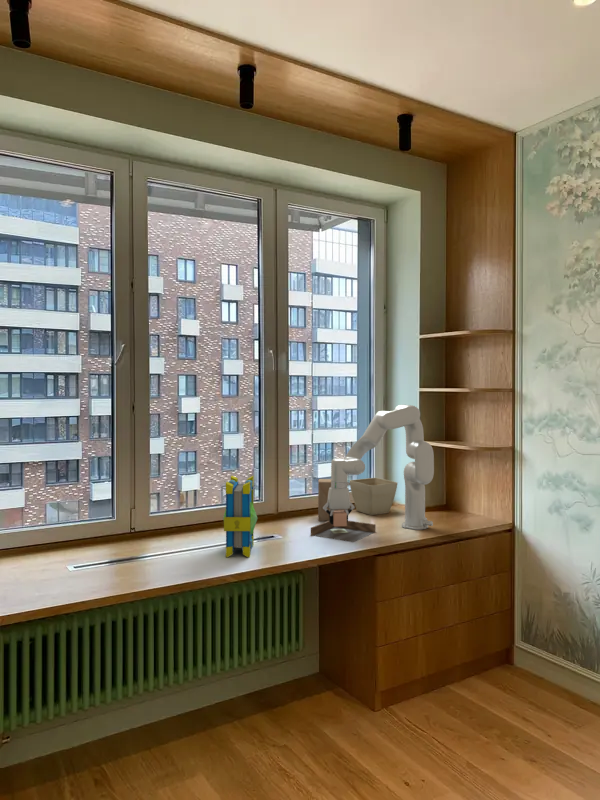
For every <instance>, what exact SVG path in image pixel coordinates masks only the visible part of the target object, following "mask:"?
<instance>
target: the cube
mask: <svg viewBox="0 0 600 800" xmlns="http://www.w3.org/2000/svg"><path fill="white" fill-rule="evenodd" d="M332 525H333V526H334V527H337V526H347V513H346V512H344V510H338V511H334V512H333V524H332Z"/></svg>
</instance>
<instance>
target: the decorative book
mask: <svg viewBox="0 0 600 800" xmlns="http://www.w3.org/2000/svg"><path fill="white" fill-rule="evenodd" d="M254 476H255V475H251V476H250V477H248V478H247V479H246V481H245V482H244V483H239V478H238V477H236V476H234V475H231V476H230V480H229V481H226V482H225V511H224V514H223V517H222V520H223V532H225V558H228V557H230V556H232V555H233V554H234V551H235V549H236V548H241V550H242V555H243V556H245V557H247V558H250V557H251V551H252V549H253V548H254V539H255V538H254V537H255V535H254V534H255V533H254V530H255V527H256V523H257V521H258V519H259V518H258V516H257V512H256V509H255V507H254V502H255V501H254V499H255V497H254V495H255V494H254V492H255V491H254Z"/></svg>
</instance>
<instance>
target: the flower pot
mask: <svg viewBox="0 0 600 800" xmlns="http://www.w3.org/2000/svg"><path fill="white" fill-rule="evenodd" d="M349 483H350V485H349V486H350V491H351V492H350V493H351V496H352V499H353V502H354V506H355V508H356V511H357V512H360V513H363V514H366V515H369V516H374V515H383V514H388V513H390V510H391V509H392V506H393V503H394V499H395V496H396V494H397V493H396V492H397V489H398V482H396V481H393V480H388V479H385V478H379V477H368V478H359V479H350V480H349Z"/></svg>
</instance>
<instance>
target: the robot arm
mask: <svg viewBox="0 0 600 800" xmlns="http://www.w3.org/2000/svg"><path fill="white" fill-rule="evenodd" d="M420 417H421V411H420V409H419V408H418V407H417V406H415V405H411V404H398V405H396V407H395V408H394V410H390V411H389V410H379V411H377V412H376V413H375V415H374V416H373V418H372V420H371V421H370V423H369V424H368V426H367V428H366V429H365V431H364V432H363V435H361V437H359V439H357V440H356V441H355V443H353V445H352V446H351V447H350V448H349V450H348V451H347V453H346V454H345V457H344V458H333V459H331V462H330V463H331V465H330V467H331V468H330V470H331V471H330V477H331V478H330V479H331V488H329V492H328V501H327V503H326V504H325V505H324V506H323V509H324V510H325V511H326V512H327V513H328V514H329V522H330V523H331V524H333V512H334V510H338V511H344V512H346V513H347V522H348V521H349V515H350V513H352V512H353V510H354V509H355V508H356V506H355V504H353V503H352V502H351V497H350V489H349V488H348V486H350V482H348V475H355V476H359V475H362V474H363V473H364V472H365V469H366V464H365V462H364V461H363V460H362V458H363V457H364V455H366V453H367V452H369V451H370V450H372V449H375V448H376V447H378V445H379V444H380V442H381V441H382V439H383V437H384V436H385V434H386V432H387V431H388V430H394V429H399V428H403V427H404V429H405V453H406V456H407V457H409V458H410V459H412V460H414V461H410V462H408V463H407V464H406V465H405V466H404V468H403V469H404V470H403V479H404V493H405V494H404V508H405V509H404V522H402V523H401V527H402V528H404V529H407V530H415V531H416V530H419V531H420V530H426V529H428V528H429V527H432V526H433V525H434V522H433V521H432V520H428V518H427V517H426V486H425V485H428V484H430V483H431V482H432V481H433V478H434V474H435V457H434V454H435V453H434V449H433V447H432V445H431V444H430V443H429V442H427V441H425V440H424V439H425V438H424V437H425V435H424V426H423V424H422V420H421V418H420ZM327 507H328V508H330V511H329V510H328V509H327Z"/></svg>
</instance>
